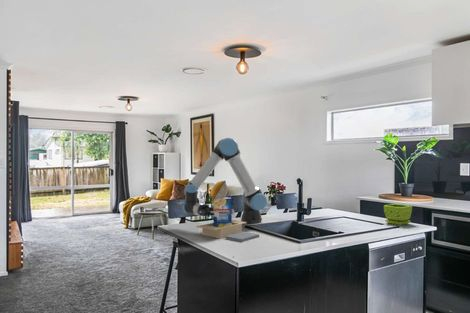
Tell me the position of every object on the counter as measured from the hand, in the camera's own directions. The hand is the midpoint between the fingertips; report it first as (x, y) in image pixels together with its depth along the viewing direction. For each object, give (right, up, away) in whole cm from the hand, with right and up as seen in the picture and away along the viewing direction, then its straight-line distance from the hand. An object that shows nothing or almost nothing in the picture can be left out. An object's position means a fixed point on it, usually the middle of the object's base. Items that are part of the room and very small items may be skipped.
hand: (226, 213), depth 213 cm
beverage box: (-2, -13, +2) cm, 14 cm away
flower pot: (+119, -13, +35) cm, 125 cm away
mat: (+10, -13, -8) cm, 18 cm away
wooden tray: (-3, -13, +2) cm, 13 cm away
